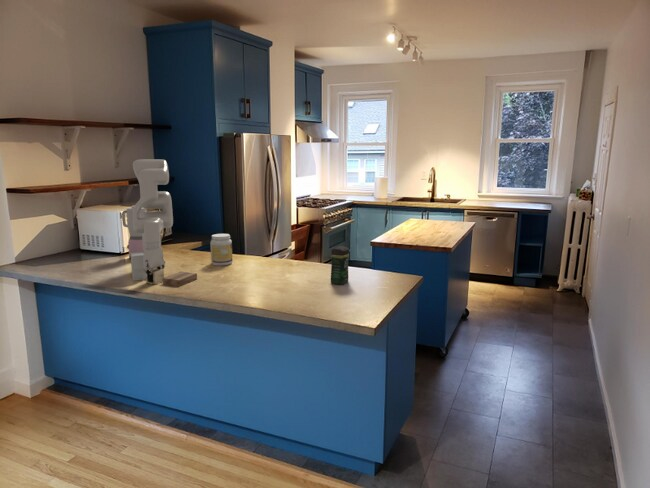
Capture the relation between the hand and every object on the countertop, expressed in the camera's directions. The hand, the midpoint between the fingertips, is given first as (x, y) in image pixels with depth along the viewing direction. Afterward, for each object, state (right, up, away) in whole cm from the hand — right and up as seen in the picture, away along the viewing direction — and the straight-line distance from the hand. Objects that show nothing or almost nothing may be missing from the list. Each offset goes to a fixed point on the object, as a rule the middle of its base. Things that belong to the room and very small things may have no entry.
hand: (155, 279), depth 239 cm
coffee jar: (+93, -2, +2) cm, 93 cm away
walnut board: (+12, -1, +1) cm, 12 cm away
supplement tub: (+25, +6, +39) cm, 47 cm away
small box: (-10, 0, +6) cm, 12 cm away
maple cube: (0, -1, 0) cm, 1 cm away
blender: (-29, +9, +51) cm, 60 cm away
